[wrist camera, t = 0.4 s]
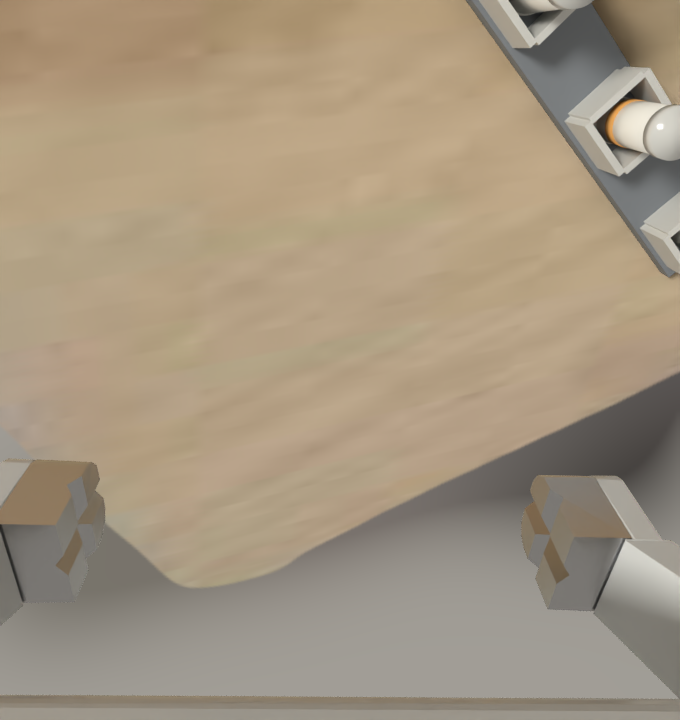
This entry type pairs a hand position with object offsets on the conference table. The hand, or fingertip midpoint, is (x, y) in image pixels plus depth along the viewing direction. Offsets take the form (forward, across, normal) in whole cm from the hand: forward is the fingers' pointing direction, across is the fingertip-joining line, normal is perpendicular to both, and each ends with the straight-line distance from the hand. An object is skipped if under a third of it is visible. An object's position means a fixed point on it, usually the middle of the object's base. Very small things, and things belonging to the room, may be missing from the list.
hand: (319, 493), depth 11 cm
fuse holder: (+48, -26, -2) cm, 54 cm away
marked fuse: (+46, -26, -2) cm, 53 cm away
